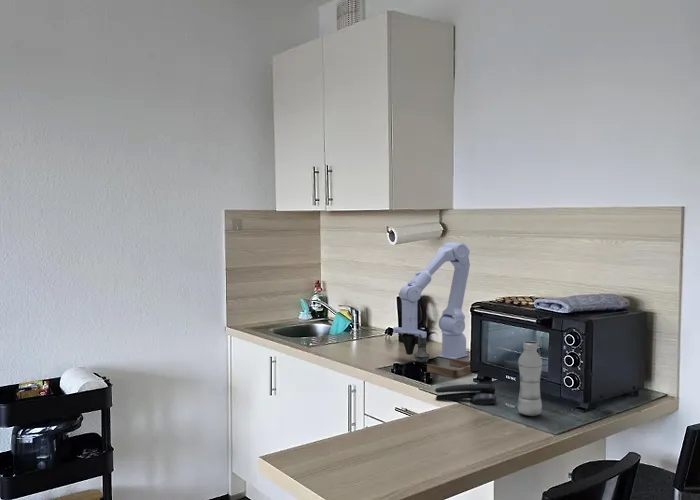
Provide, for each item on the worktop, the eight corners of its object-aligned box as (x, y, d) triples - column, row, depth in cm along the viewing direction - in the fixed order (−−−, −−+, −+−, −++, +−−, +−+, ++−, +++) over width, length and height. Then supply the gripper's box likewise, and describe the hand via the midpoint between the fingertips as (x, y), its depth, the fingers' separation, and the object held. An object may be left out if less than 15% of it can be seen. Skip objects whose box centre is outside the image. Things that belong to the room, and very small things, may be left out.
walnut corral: (451, 364, 229) (451, 358, 229) (479, 370, 220) (479, 363, 220) (427, 371, 219) (427, 364, 219) (455, 378, 211) (455, 370, 210)
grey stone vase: (411, 365, 229) (411, 332, 228) (417, 362, 234) (417, 330, 233) (426, 367, 226) (426, 334, 225) (432, 363, 231) (432, 331, 230)
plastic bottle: (518, 418, 169) (519, 344, 168) (515, 410, 176) (516, 339, 175) (543, 419, 168) (544, 345, 167) (539, 411, 175) (540, 340, 174)
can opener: (496, 399, 187) (496, 381, 186) (496, 406, 180) (496, 387, 180) (435, 396, 190) (436, 378, 190) (434, 403, 184) (434, 384, 183)
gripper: (387, 316, 235) (387, 352, 236) (417, 321, 225) (417, 359, 226) (400, 314, 240) (400, 349, 241) (430, 319, 230) (430, 355, 231)
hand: (409, 354), depth 234 cm, fingers closed
